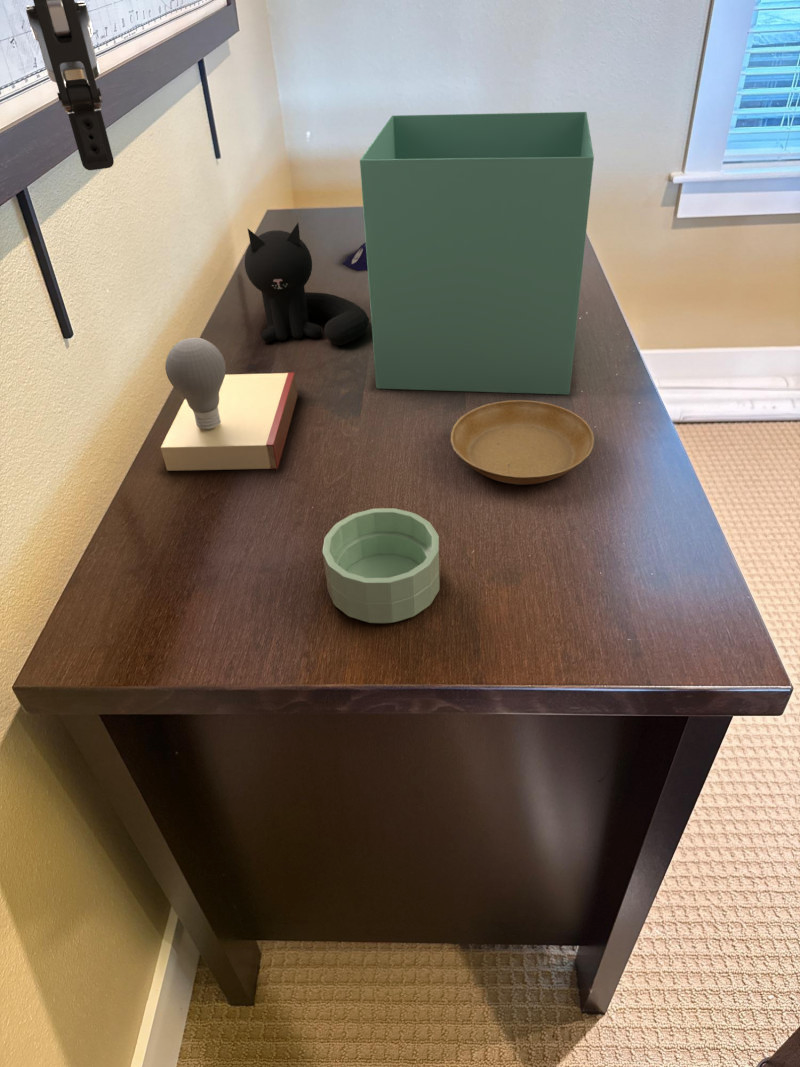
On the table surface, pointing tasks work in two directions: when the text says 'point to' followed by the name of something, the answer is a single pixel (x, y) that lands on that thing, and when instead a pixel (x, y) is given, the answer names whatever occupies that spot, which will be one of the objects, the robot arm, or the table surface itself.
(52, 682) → the table surface
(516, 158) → the box
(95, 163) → the robot arm
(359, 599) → the bowl
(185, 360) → the light bulb
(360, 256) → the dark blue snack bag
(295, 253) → the figurine
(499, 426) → the plant saucer
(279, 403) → the book
